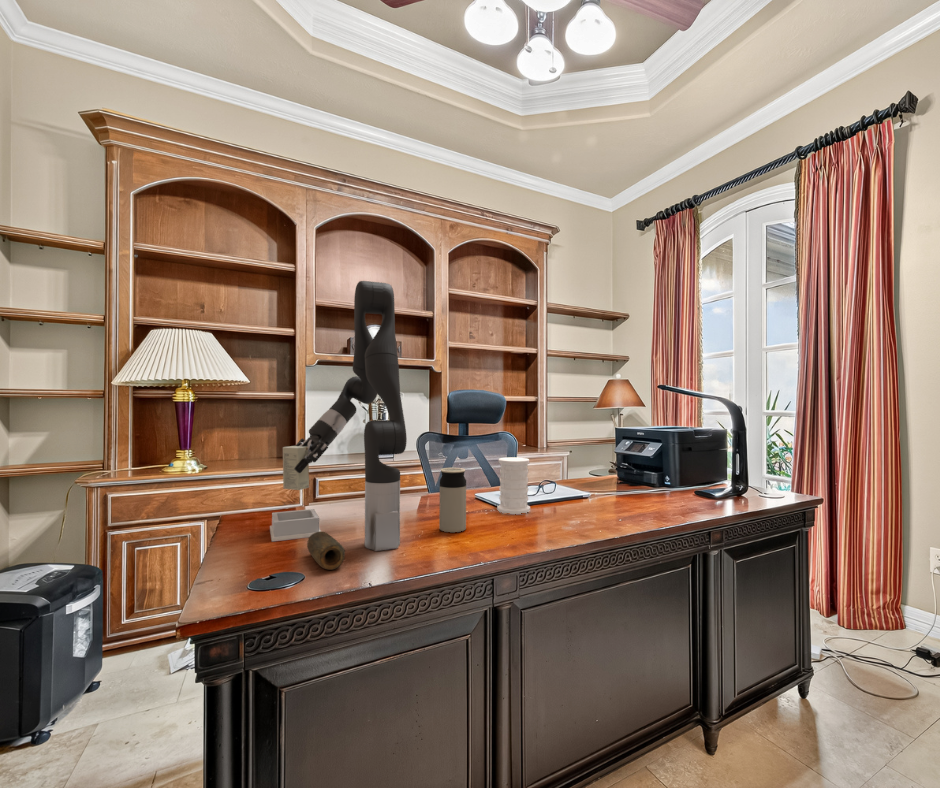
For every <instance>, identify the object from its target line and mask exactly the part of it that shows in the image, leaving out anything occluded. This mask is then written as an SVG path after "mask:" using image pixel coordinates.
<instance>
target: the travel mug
mask: <svg viewBox="0 0 940 788" xmlns="http://www.w3.org/2000/svg"><path fill="white" fill-rule="evenodd" d="M440 472H441V477H440V479H439V514H438V515H439V517H438V518H439V522H438V523H439V525H438V529H439V530H440V531H442V532H443V531H444V532H443V533H448V532H450V533H451V534H453V533H455V532H457V533H461V531H462V532H464V531H465V530H466V529H467V479H466V477H465V472H466V469H465V468H461V467H443V468H441V469H440ZM450 533H449V534H450ZM455 534H456V533H455Z"/></svg>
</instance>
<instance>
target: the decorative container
mask: <svg viewBox="0 0 940 788" xmlns="http://www.w3.org/2000/svg"><path fill="white" fill-rule="evenodd" d="M498 464H500V468H499V474H500V477H499V484H500V485H499V488H498V489H499V492H500V495H499V501H500V503H499V506H498V505H497V507H496V508H497V509H496V510H498V511H499V512H498V511H497V512H498V513H501V512H502V513H501V514H504V513H510V514H509V515H515V514H516V515H522V514H521V513H526V514H528V513H527V512H529V511H530V512H531V506H530V505H528V501H529V495H528V491H529V487H528V483H529V477H528V474H529V469H528V465H529V464H530V459H529V458H527V457H514V456H512V457H500V458H498ZM530 512H529V513H530Z"/></svg>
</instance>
